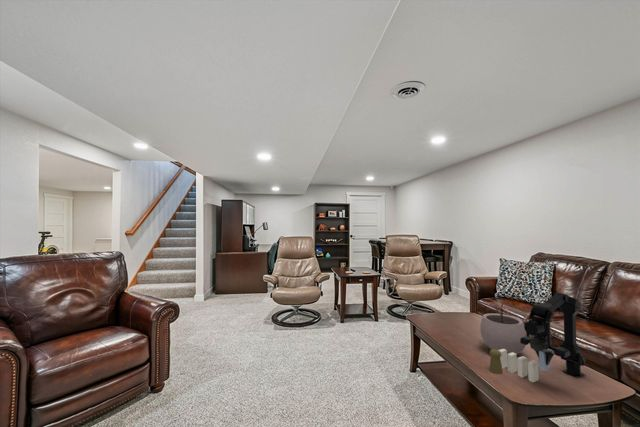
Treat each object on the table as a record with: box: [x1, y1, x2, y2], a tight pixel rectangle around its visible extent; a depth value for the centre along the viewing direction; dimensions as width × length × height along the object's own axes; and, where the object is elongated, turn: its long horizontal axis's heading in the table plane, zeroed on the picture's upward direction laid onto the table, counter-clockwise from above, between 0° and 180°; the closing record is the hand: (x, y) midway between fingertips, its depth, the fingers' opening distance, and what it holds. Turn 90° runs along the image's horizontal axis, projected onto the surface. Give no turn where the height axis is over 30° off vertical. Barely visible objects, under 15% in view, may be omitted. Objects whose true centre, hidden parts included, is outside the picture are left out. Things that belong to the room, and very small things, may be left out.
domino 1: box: [498, 349, 508, 370], centre depth 152 cm, size 5×2×9 cm, turn 116°
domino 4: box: [527, 359, 540, 383], centre depth 139 cm, size 5×2×9 cm, turn 116°
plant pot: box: [479, 303, 528, 355], centre depth 170 cm, size 24×24×30 cm
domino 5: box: [538, 349, 551, 372], centre depth 135 cm, size 5×2×9 cm, turn 117°
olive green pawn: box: [488, 349, 503, 375], centre depth 148 cm, size 6×6×11 cm
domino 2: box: [507, 352, 518, 374], centre depth 148 cm, size 5×2×9 cm, turn 116°
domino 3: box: [517, 355, 529, 378], centre depth 143 cm, size 5×2×9 cm, turn 116°
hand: (544, 363), depth 135 cm, fingers closed on domino 5, 2 cm apart
